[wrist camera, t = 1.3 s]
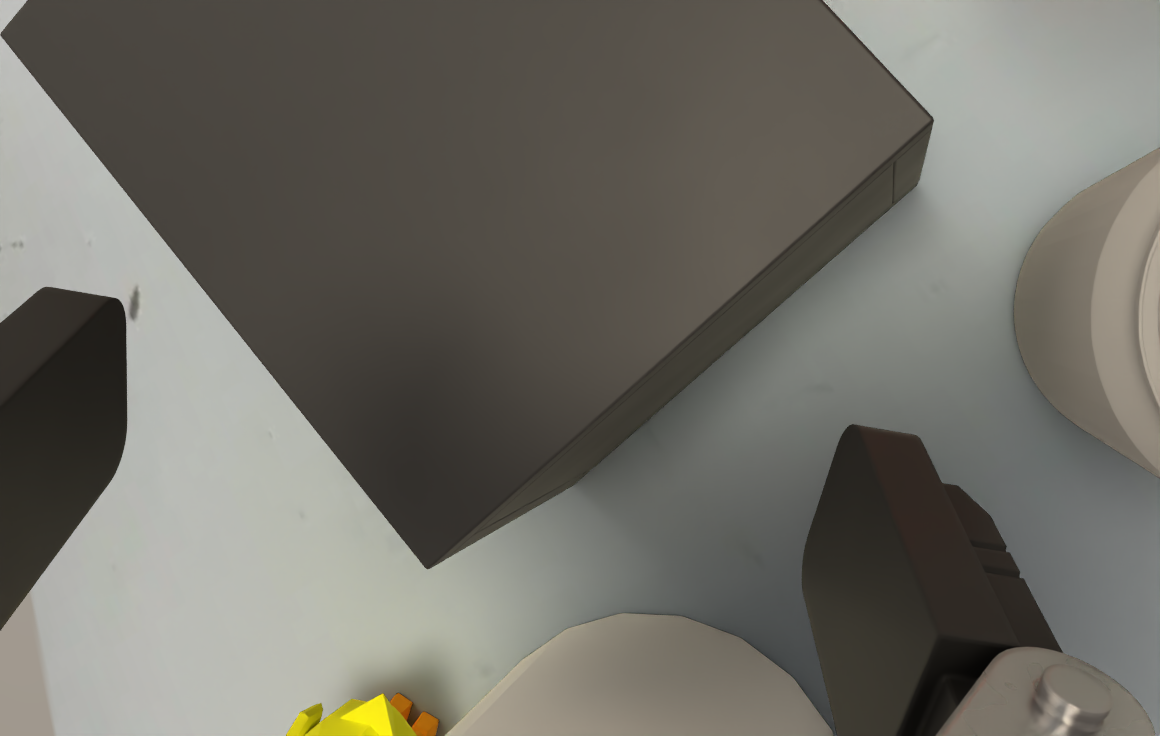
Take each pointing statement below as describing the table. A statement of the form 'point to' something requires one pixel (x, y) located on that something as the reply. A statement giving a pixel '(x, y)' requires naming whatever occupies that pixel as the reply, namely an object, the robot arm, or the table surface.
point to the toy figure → (365, 720)
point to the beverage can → (1099, 311)
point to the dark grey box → (484, 206)
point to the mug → (644, 686)
